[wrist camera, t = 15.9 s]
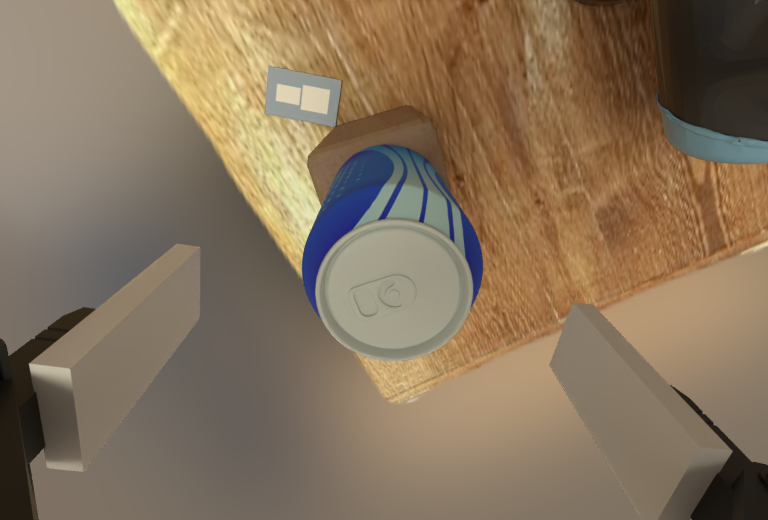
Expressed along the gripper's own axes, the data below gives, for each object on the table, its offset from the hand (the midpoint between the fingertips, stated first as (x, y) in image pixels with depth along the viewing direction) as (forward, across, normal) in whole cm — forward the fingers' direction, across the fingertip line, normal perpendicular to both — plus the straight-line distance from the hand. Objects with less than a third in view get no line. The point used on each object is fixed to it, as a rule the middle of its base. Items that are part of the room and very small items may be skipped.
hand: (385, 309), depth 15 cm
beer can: (+19, 0, +1) cm, 19 cm away
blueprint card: (+38, +10, -4) cm, 40 cm away
